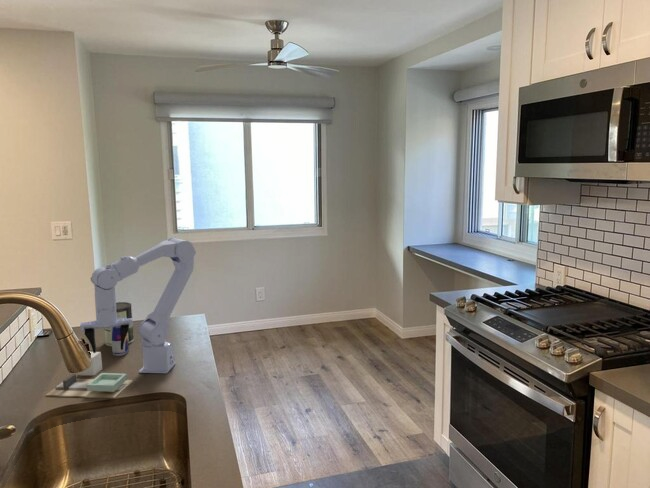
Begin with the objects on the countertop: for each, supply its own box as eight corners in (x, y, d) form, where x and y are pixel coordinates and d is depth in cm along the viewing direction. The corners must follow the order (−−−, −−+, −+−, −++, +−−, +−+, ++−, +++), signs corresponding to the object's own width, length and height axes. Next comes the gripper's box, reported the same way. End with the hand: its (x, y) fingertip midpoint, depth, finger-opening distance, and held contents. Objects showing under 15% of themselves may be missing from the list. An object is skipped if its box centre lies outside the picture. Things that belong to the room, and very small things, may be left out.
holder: (127, 379, 153) (126, 373, 152) (114, 391, 145) (113, 385, 144) (101, 378, 153) (101, 373, 153) (87, 390, 145) (86, 384, 145)
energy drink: (123, 356, 174) (120, 323, 172) (109, 355, 175) (106, 322, 173) (131, 350, 179) (129, 318, 177) (118, 349, 180) (115, 318, 178)
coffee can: (123, 335, 196) (120, 300, 193) (139, 340, 190) (137, 304, 188) (99, 343, 187) (95, 307, 185) (116, 348, 181) (112, 311, 179)
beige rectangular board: (132, 381, 154) (131, 371, 154) (115, 398, 144) (114, 387, 143) (68, 379, 156) (67, 369, 156) (46, 396, 145) (44, 385, 145)
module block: (102, 369, 164) (100, 351, 163) (94, 375, 159) (92, 357, 158) (87, 368, 164) (86, 351, 163) (79, 375, 159) (77, 357, 158)
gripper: (131, 301, 157) (133, 343, 159) (80, 306, 152) (83, 348, 154) (131, 307, 150) (133, 350, 153) (78, 312, 145) (81, 356, 147)
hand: (108, 350), depth 153 cm, fingers open, 7 cm apart
